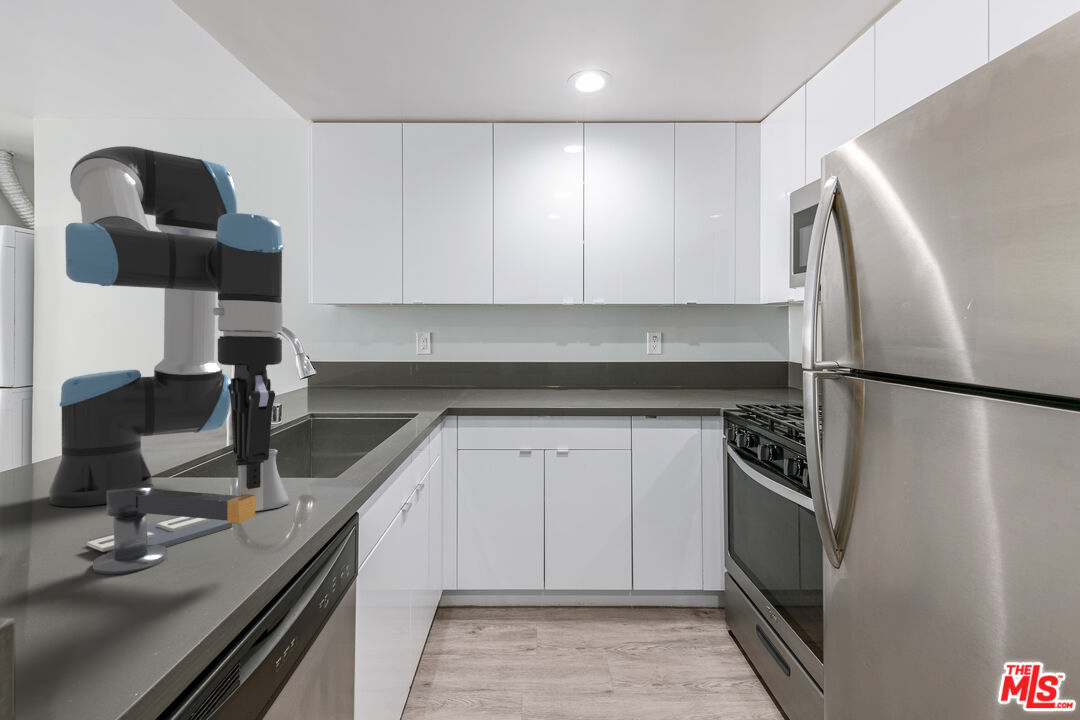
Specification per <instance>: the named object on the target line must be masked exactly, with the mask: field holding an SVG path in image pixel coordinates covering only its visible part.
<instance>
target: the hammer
mask: <svg viewBox="0 0 1080 720" xmlns="http://www.w3.org/2000/svg"><path fill="white" fill-rule="evenodd" d="M141 513H146V514H147V515H148V514H149V515H159V516H173V517H177V516H181V517H192V518H204V519H215V520H226V521H228V523H232V524H236V525H237V524H241V523H244V522H246V521H249V520H250V519H253V518H255V517H256V511H255V495H248V494H244V495H241V496H238V495H232V494H219V493H208V492H207V493H205V492H196V491H195V492H194V491H184V490H183V491H181V490H180V491H178V490H170V489H169V490H168V489H157V488H155V489H154V485H153V483H152V484H145V483H140V484H128V485H122V486H117V487H114V488H111V489H109V490H107V504H106V516H109V517H113V518H114V517H122V516H131V515H137V514H141Z"/></svg>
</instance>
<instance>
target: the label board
mask: <svg viewBox="0 0 1080 720" xmlns="http://www.w3.org/2000/svg"><path fill="white" fill-rule="evenodd" d="M232 527H233V523H228V521H226V520H215V519H204V518H192V517H181V516H173V517H170V518H167V519H166V518H165V519H162V520H158V521H156V522H155V521H154V522H151V523H147V538H148V545H149V546H148V547H150V546H151V545H160V546H164V547H166V548H169V547H171V546H174V545H178V544H180V543H184V542H188V541H191V540H194V539H198V538H200V537H204V536H207V535H210V534H214V533H216V532H221V531H223V530H227V529H229V528H232ZM86 546H87V547H89V548H92V549H95V550H97V551H99V552H102V553H103V552H104V553H105V552H106V553H109V552H111V551H114V532H113V533H110V534H105V535H101V536H98V537H94V538H90V539H89V540H88V541H87V542H86Z"/></svg>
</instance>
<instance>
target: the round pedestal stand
mask: <svg viewBox="0 0 1080 720" xmlns="http://www.w3.org/2000/svg"><path fill="white" fill-rule="evenodd" d="M147 524H148V514H146V513H141V514H137V515H131V516H122V517H113V533H114V551H111V552H109V553H108V552H106V553H104V554H102V555H100V556H98V557H97V558H95V559H94V560H93V562H92V571H93V572H94V573H95V574H98V575H105V576H106V575H108V576H109V575H111V576H113V575H123V574H129V573H130V574H131V573H134V572H139V571H143V570H145V569H149V568H151V567H154V566H156V565H159V564H160V563H162V562H164V561H165V560H166V559H167V558H168V549H167V548H168V547H164V546H160V545H151V546H150V547H148V546H149V545H148V538H147Z"/></svg>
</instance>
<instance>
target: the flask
mask: <svg viewBox="0 0 1080 720" xmlns="http://www.w3.org/2000/svg"><path fill="white" fill-rule="evenodd" d="M277 454H278V450H277V449H275V448H269V458H268V460H266V461H264V463H263V510H262V511H266V510H273V509H278V508H281V507H284V506H286V505H289V504H291V501H290V499H289V497H288V494H287V492H286V489H285V487H284V485H283V481H282V480H281V477H280V474H279V472H278V466H277V463H276V462H277V461H276V458H277V457H276V456H277Z"/></svg>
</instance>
